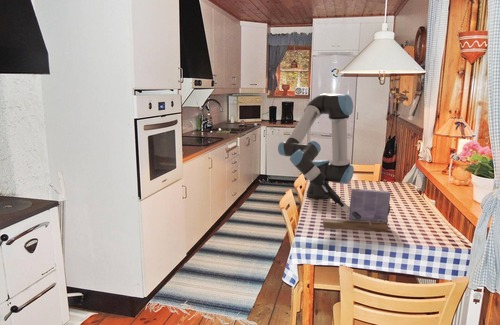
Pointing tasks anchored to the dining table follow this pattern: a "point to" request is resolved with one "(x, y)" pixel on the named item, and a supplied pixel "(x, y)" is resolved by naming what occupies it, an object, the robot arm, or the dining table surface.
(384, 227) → the walnut board
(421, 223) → the dining table surface
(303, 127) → the robot arm
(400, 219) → the dining table surface
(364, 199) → the cake pan box
